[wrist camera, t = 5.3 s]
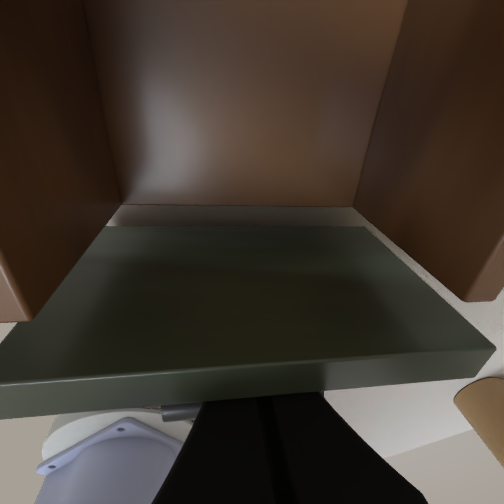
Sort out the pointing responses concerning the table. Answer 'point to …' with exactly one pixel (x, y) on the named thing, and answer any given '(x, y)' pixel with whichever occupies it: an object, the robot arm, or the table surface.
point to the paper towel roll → (485, 412)
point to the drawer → (244, 197)
